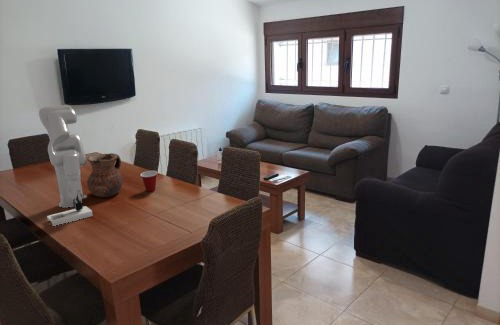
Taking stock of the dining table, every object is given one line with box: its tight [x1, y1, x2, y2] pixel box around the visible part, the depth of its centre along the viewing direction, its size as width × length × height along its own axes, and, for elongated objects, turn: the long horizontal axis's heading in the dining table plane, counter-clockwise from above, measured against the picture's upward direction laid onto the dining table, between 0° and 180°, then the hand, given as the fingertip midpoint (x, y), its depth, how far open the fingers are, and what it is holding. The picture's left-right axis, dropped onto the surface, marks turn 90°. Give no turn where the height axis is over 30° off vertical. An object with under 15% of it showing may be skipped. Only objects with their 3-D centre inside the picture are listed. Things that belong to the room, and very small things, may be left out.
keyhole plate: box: [46, 205, 94, 227], centre depth 200 cm, size 20×10×3 cm, turn 132°
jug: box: [86, 152, 124, 198], centre depth 235 cm, size 22×21×25 cm
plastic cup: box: [140, 170, 158, 193], centre depth 241 cm, size 11×11×12 cm
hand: (78, 208), depth 202 cm, fingers closed on peg, 3 cm apart
